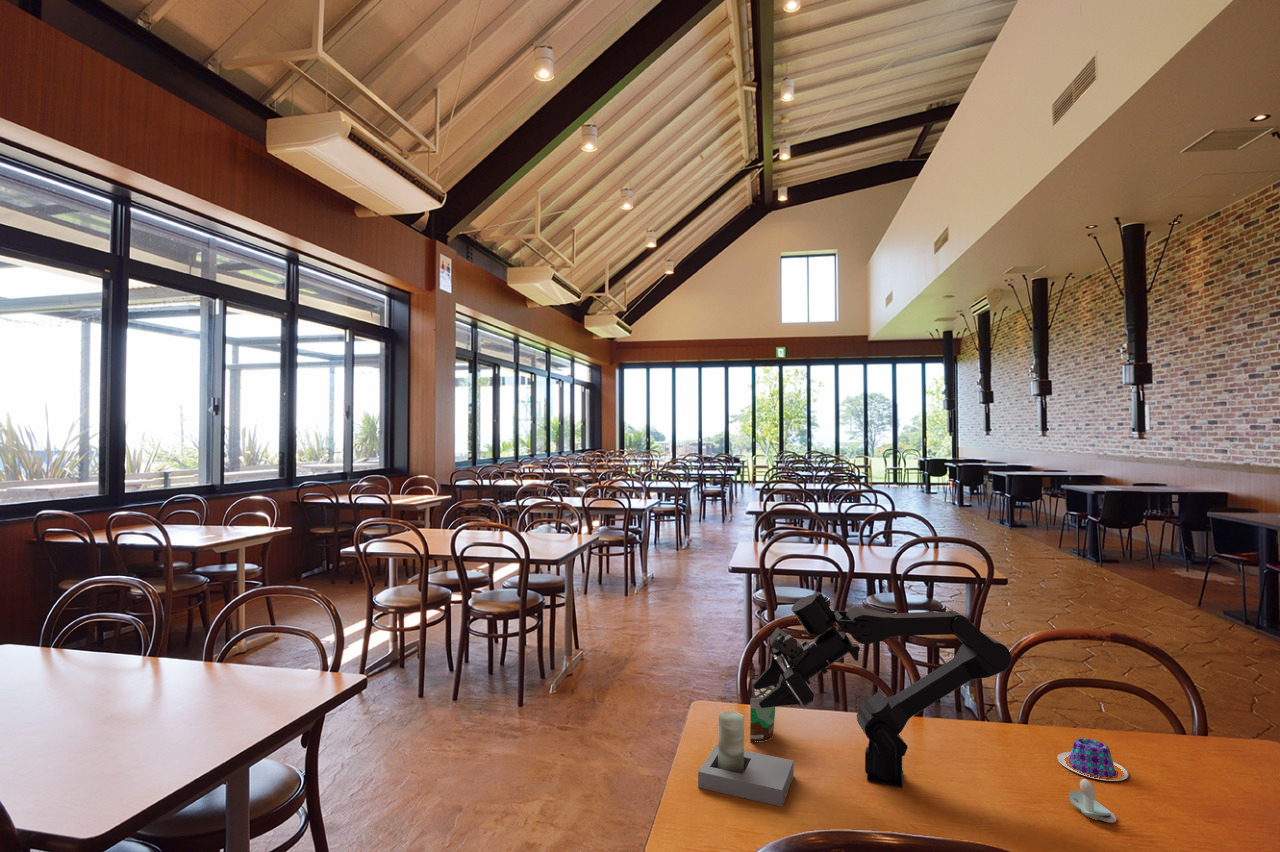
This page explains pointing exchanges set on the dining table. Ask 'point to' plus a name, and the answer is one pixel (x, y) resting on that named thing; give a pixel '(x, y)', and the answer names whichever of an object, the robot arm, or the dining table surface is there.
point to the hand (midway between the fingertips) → (757, 696)
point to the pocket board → (749, 777)
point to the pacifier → (1090, 803)
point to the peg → (731, 742)
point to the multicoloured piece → (1091, 759)
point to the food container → (761, 716)
